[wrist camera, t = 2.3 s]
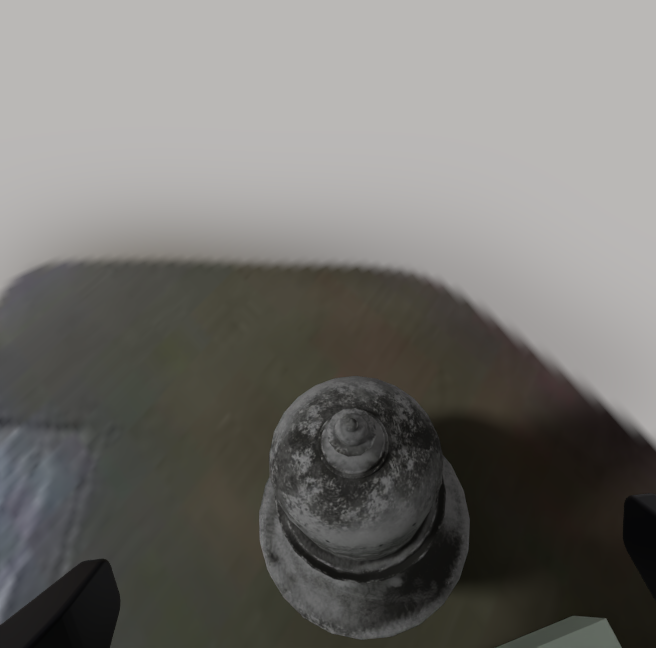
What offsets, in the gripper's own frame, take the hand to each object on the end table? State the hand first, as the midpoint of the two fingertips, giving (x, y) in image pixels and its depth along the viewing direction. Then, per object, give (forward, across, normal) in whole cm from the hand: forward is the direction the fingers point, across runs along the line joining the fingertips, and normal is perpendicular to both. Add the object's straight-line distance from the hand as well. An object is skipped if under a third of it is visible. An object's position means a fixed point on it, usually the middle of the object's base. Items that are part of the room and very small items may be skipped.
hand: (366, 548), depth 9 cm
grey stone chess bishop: (+7, 0, +6) cm, 9 cm away
